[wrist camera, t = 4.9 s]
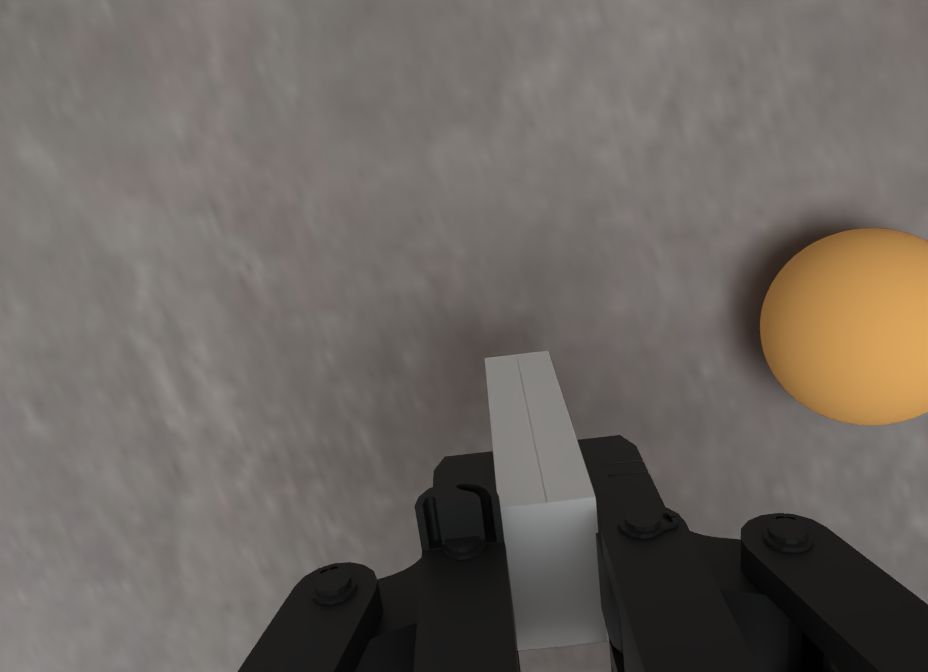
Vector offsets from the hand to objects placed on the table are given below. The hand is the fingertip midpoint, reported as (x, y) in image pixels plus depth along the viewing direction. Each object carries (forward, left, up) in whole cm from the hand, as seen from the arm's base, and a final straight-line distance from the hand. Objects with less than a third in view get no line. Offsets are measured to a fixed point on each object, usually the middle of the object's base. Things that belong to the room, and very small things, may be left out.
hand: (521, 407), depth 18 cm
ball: (+10, 0, -4) cm, 11 cm away
